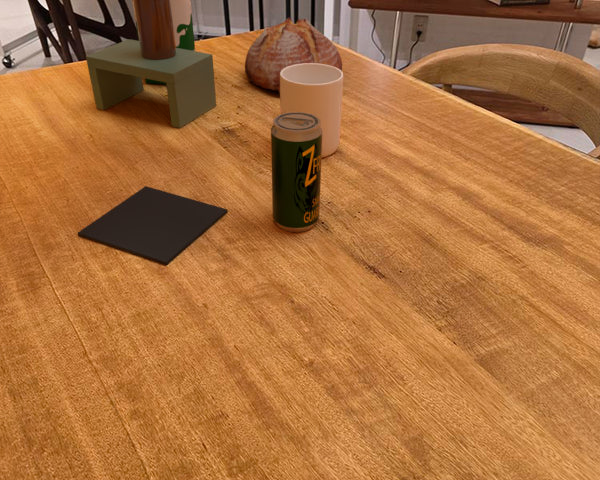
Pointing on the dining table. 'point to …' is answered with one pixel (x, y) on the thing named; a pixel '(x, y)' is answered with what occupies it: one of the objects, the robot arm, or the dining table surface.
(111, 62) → the shelf
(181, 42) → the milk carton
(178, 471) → the dining table surface
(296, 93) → the mug
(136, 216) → the mat
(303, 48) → the bread
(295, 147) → the beer can
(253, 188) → the dining table surface
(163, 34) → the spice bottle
